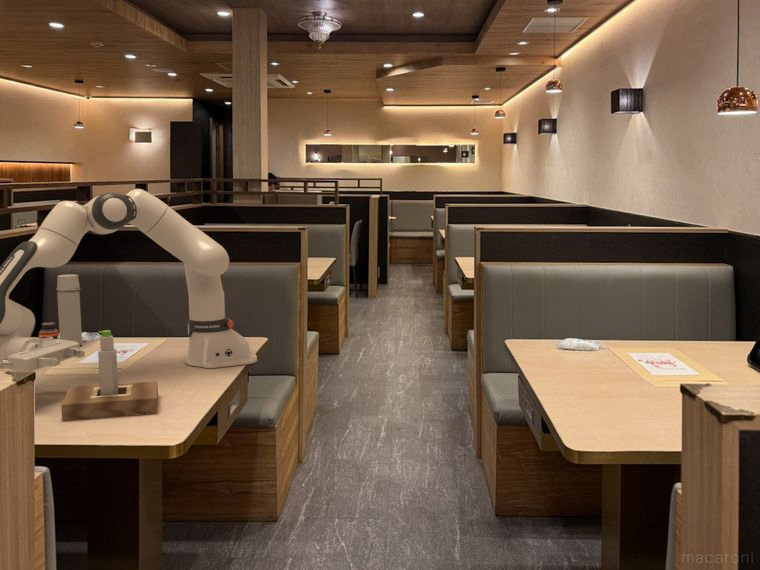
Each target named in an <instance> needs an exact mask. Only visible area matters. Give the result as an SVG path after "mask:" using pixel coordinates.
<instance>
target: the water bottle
mask: <svg viewBox="0 0 760 570" xmlns="http://www.w3.org/2000/svg"><path fill="white" fill-rule="evenodd" d="M56 284H57V286H56V288H55V289H56V291H57V293H56V294H57V312H58V313H57V314H58V315H57V316H58V328H59V330H58V332H59V339H62V340H69V341H75V342H78V343H79V345H80V347H81V346H82V345H83V334H82V333H83V332H82V331H83V329H82V316H81V315H82V314H81V313H82V312H81V298H80V290H81V289H82V288H80V287H81V286H80V280H79V275H78V274H74V273H73V274H69V273H68V274H60V275H57V283H56Z"/></svg>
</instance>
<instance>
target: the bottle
mask: <svg viewBox="0 0 760 570" xmlns="http://www.w3.org/2000/svg"><path fill="white" fill-rule="evenodd" d="M97 333H98V334H101V336H100V337H99V338H100V340H99V341H100V347H99V348H100V349H99V350H98V351H97V352H98V353H97V355H98V356H97V357H98V376H99V379H98V380H99V385H100V396H105V395H118V384H119V382H118V381H119V379H118V378H119V376H118V359H117V357H118V356H117V355H118V354H117V348H115V346H114V336H113V335H112V331H111V330H109V329H107V330H100V331H98V332H97Z"/></svg>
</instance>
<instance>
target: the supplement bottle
mask: <svg viewBox="0 0 760 570" xmlns="http://www.w3.org/2000/svg"><path fill="white" fill-rule="evenodd" d="M39 337H53V339H60V332H59V330H58V329H57V328H56V323H55V322H43V323H41V329H40V330H39V332H38V338H39Z"/></svg>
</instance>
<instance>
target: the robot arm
mask: <svg viewBox="0 0 760 570" xmlns="http://www.w3.org/2000/svg"><path fill="white" fill-rule="evenodd" d="M128 224H129V225H132V226H133V227H135V228H137V229H138V230H139V231H140V232H142V233H143V234H144V235H145V236H147V237H148V238H149V239H151V240H152V241H154V242H155V243H156V244H157V245H159V246H160V247H162V249H164V250H165V251H167V252H168V253H170V254H171V255H172V256H174V257H175V258H177V259H178V260H180V261H181V262H182V263H183V265H184V273H185V281H186V287H187V292H188V294H187V295H188V312H189V313H188V314H189V315H188V316H189V317H188V320H187V322H188V323H187V335H188V337H189V340H188V350H187V355H186V359H185V363H186V364H187V365H189V366H192V367H198V368H199V367H200V368H204V369H215V368H225V367H233V366H241V365H242V366H243V365H244V366H245V365H252V364H255V363H256V362H257V361H258V356H257V355H256V353H255V352H253V351H251V348H250V344H249V342H248V340H247V339H246V338H245V337H244V336H242V335H241V334H240V333H238V332H237V331H235V330H234V329H233V326H235V324H234V321H233V320H232V319H230V318H228V317H226V311H225V310H226V308H225V307H226V306H225V305H226V303H225V291H224V289H223V285H222V284H223V283H222V280H221V275H223V274H224V273H225V272H226V271H227V270H228V268H229V266H230V257H229V254H228V252H227V250H226V249H225V247H223V245H221V244H220V243H219V242H217V241H215V240H214V239H213V238H211V236H209V235H207V234H206V233H205V232H203V231H202V230H201V229H199V228H198V227H196V226H195V225H193V224H192V223H190V222H189V221H188V220H186V219H185V218H184V217H182V216H181V215H180V214H179V213H178V212H176V211H175V210H174V209H173V208H172V207H170V206H169V205H168V204H166V203H165V202H164V201H162V200H161V199H159V198H158V197H156V196H155V195H153V194H151V193H150V192H148V191H146V190H144V189H141V188H134V189H132V190H130V191H129V192H127V193H126V194H120V193H116V192H105V193H102V194H99V195H97V196H95V197H93V198H92V199H91V200H89V201H88V202H86V203H84V204H83V205H82V204H79V203H77V202H75V201H73V200H61V201H59V202H58V203H56V204H55V206H54V207H53V208H52V209H51V211H49V213H48V215H46V217H45V218H44V220H43V221H42V223H41V225H40V226H39V228H38V229H37V231H36V233H35V234H34V235H33V236H32V237H31V238H30V239H29V240H28V241H27V240H25V241H23V242H21V243H19V244H18V245H17V246H16V247H15V248H14V249H13V251H12V252H11V253H10V254H9V256H8V257H6V259H5V260H4V261H3V263H2V264H1V265H0V370H1V369H3V370H5V369H9V370H11V371H14V372H15V371H16V372H20V371H30V372H34V371H36V370H39V369H42V368H44V367H56V366H60V365H61V362H63V361H67V360H70V359H72V358H77V359H79V358H80V359H81V358H85V356H86V354H85V353H86V352H85V350H84V349H81V346H80V345H79V343H78V342H75V341H69V340H62V339H60V338H59V339H53V337H39V336H38V337H32V336H33V332H34V330H35V327H36V316H35V313H34V312H33V311H32V310H31V309H29V308H28V307H25V306H23V305H21V304H20V303H18V302H15V301H13V299H9V296H10V294H11V292H12V291H13V289H14V288H15V287H16V285H17V284H18V282H19V281H20V280H21V279H22V277H24V275H25V274H26V272H27V271H29V270H30V269H33V268H49V269H50V268H58V267H62V266H64V265H65V264H67V263H68V262H69V261H70V260H71V258H72V257H73V256H74V254H75V252H76V251H77V248H78V246H79V244H80V242H81V240H82V238H83V237H84V236H85V235H86V233H88V234H92V235H97V236H105V235H108V234H113V233H115V232H117V231H118V230H119V229H122V228H124V227H125V226H126V225H128Z"/></svg>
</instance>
